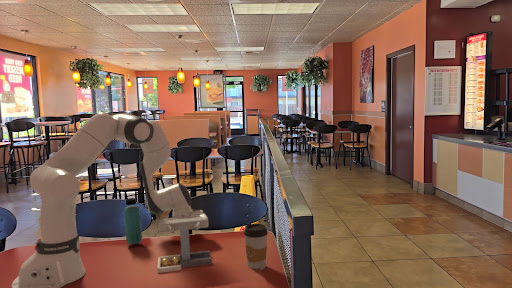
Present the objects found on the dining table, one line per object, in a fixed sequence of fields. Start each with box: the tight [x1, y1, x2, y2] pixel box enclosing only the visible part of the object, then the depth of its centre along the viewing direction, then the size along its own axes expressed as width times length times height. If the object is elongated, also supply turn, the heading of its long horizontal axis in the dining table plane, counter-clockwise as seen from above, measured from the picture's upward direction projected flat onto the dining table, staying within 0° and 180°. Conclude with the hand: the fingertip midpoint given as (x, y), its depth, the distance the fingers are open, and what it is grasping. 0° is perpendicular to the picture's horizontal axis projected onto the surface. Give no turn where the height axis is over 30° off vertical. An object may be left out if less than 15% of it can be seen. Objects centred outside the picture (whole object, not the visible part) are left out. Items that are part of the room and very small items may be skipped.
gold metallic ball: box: [161, 258, 171, 267], centre depth 140 cm, size 3×3×3 cm
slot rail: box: [180, 250, 213, 269], centre depth 143 cm, size 11×7×3 cm, turn 102°
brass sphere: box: [171, 257, 181, 266], centre depth 142 cm, size 3×3×3 cm
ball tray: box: [157, 253, 182, 274], centre depth 140 cm, size 8×10×2 cm
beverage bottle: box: [123, 197, 143, 245], centre depth 162 cm, size 6×7×20 cm
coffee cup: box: [243, 223, 268, 271], centre depth 138 cm, size 8×8×15 cm
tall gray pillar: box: [179, 227, 191, 261], centre depth 141 cm, size 3×4×13 cm
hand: (184, 229), depth 153 cm, fingers open, 8 cm apart
